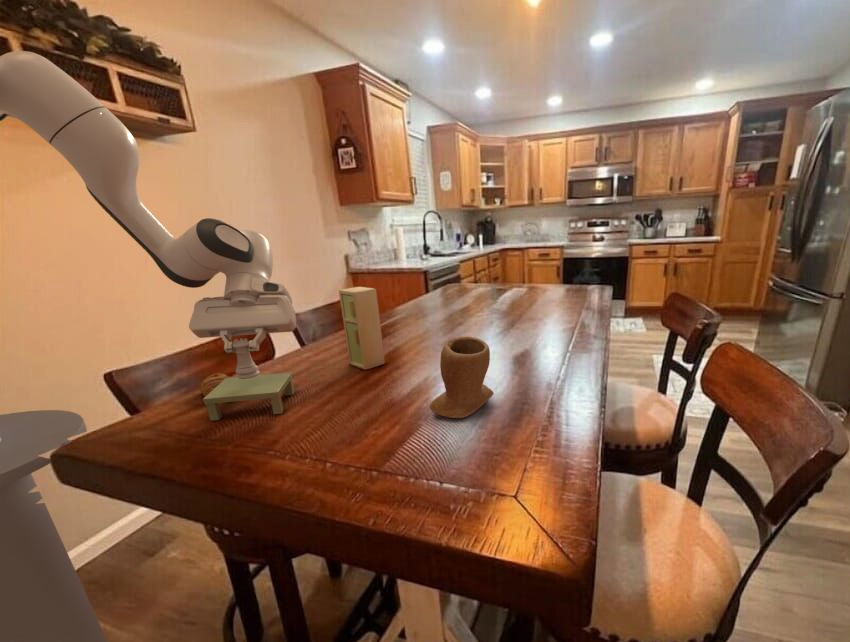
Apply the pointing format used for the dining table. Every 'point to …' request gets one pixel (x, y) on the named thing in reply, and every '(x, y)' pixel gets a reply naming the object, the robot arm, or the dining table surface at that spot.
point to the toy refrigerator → (362, 327)
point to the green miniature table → (250, 391)
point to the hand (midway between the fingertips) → (241, 350)
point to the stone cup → (463, 377)
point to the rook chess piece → (244, 360)
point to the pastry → (212, 383)
